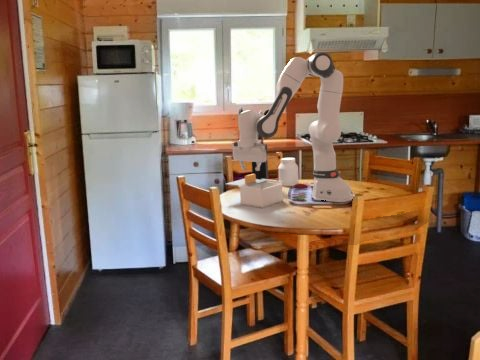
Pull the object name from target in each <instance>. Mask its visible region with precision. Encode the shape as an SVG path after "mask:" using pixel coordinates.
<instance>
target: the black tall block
mask: <svg viewBox="0 0 480 360" xmlns="http://www.w3.org/2000/svg"><path fill="white" fill-rule="evenodd" d="M257 143H259V144H260V143H262V139H257ZM262 144H263V143H262ZM263 145H264V146H265V150H266V155H267V156H268V145H267V144H266V143H265V144H263ZM263 145H262V146H263ZM255 167H257V164H256V162H251V171H252V172H251V174H256V179H259V180H261V179H269V169H268V167H269V166H268V159H267V160H266V162H261V165H260V170H259V171H256V170H255Z"/></svg>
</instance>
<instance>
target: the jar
mask: <svg viewBox="0 0 480 360" xmlns="http://www.w3.org/2000/svg"><path fill="white" fill-rule="evenodd" d="M277 168H278V181H283V184H282V183H281V184H282V187H293V186H295V185H298V184H300V183H299V182H300V180H299V165H298V164H297V163H296V158H295V157H283V158H281V159H280V164H279V165H278V167H277Z"/></svg>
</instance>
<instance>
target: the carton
mask: <svg viewBox="0 0 480 360" xmlns="http://www.w3.org/2000/svg"><path fill="white" fill-rule="evenodd" d="M261 180H267V182H264V183H260V184H257V185H253V186H243V185H238V186H237V187H238V188H239V192H240V193H239V194H240V195H239V196H240V205H241V204H242V206H248V207H253V208H259V209H264V208H266V207H270V206H272V205H275V204H279V203H281V202H283V197H284V195H283V186H282V184H283V181H279V180H276V179H275V180H274V179H269V178H268V179H261ZM281 183H282V184H281Z"/></svg>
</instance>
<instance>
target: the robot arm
mask: <svg viewBox="0 0 480 360" xmlns="http://www.w3.org/2000/svg"><path fill="white" fill-rule="evenodd" d="M307 76H311V77H319V79H320V88H319V93H318V94H319V95H318V100H317V104H316V107H317V112H318V113H317V115H318V116H317V119H316V120H315V121H312V122H311V123H310V125H309V126H308V134H309V136H310V142H311V143H310V144H311V148H312V153H313V170H312V176H313V187H312V193H311V196H312V197H311V198H313V200H314V201H321V200H324V201H325V200H326V201H325V202H333V203H334V202H335V203H345V202H346V203H347V202H350V201H353V200H354V199H353V197H354V196H355V195H356V194H353V193H352V189H351V186H350V184H349V183H347V181H345V180H344V179H343V178H341V176H340V174H341V172H342V171H341V170H338V169H337V160H336V159H337V154H336V151H335V149H334V144H333V143H336V142H338V141H339V140H340V137H341V135H342V130H341V127H340V110H341V102H342V97H343V92H344V91H343V90H344V74H343V73H342V72H341V71H340V70H339V69H336V67H335V64H334V60H333V58H332V56H331V55H330V54H329V53H327V52H325V51H324V52H323V51H318V52H316V53H314V54H312V55H310V56H309V57H307V58H306V59H304V58H303V57H300V56H295V57H293V58H291V59H290V61H289V62H288V63H287V64H286V66H285V67H284V69H283V70H282V72H281V74H280V75H279V77H278V80H277V82H276V86H275V89H276V94H275V98H274V101H273V102H272V104H271V106H270V108H269V110H268V112H267V113H266V115H265V114H262V113H259V112H257V111H255V110H254V109H248V110H244V111H241V112H240V113H239V114H238V117H237V118H238V120H237V123H238V131H239V137H238V138H239V140H237V141H234V142H232V145H231V146H232V147H233V148H232V158H233V160H234V161H238V163H239V165H240V166H241V170H246V169H247V166H246V165H245V163H244V162H249V163H252V162H256V164H257V167H255V170H256V171H259V170H260V165H261V162H266V160H268V154H267V155H266V150H265V146H264V145H263V143H262V142H261V143H260V144H259V143H257V140H258V135H259V136H260V137H262V138H264V139H270V138H273V137H275V135H276V134H277V132H278V129H279V122H280V119H281V117H282V115H283V113H284V111H285V109H286V108H287V106H288V104H289V102H290V101H291V100H292V98H293V97H294V95H295V94H296V93H297V92H298V90H299V89H300V88H301V85H302V83H303V81H304V80H305V79H306V78H307ZM262 145H263V146H262ZM352 199H353V200H352ZM324 201H323V202H324Z"/></svg>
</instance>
